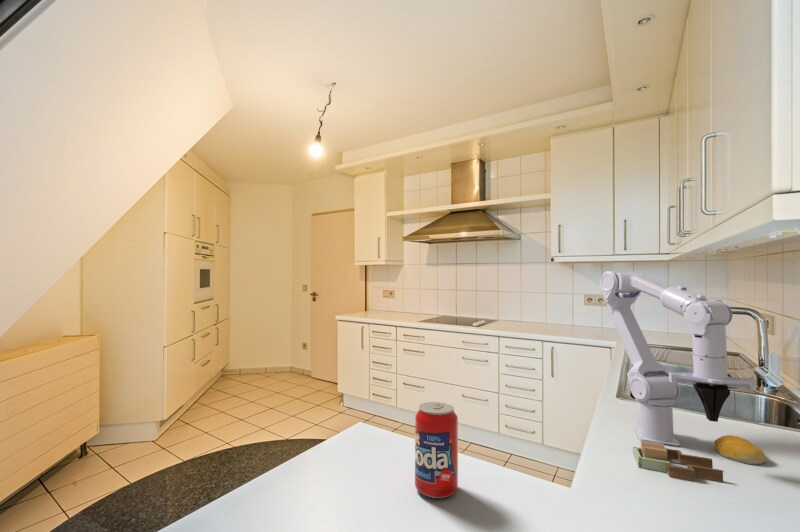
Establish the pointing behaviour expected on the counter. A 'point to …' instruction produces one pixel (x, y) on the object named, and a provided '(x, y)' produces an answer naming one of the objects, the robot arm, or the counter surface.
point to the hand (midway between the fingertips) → (712, 420)
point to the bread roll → (739, 450)
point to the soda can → (436, 450)
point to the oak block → (653, 451)
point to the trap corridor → (695, 464)
